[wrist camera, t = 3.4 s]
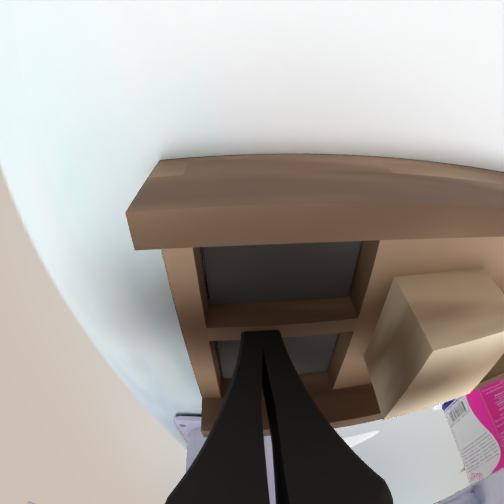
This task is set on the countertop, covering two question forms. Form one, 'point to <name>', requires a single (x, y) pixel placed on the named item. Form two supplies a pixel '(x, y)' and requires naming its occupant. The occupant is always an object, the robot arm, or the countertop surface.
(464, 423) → the supplement box
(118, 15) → the countertop surface
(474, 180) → the compartment tray
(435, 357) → the birch block
